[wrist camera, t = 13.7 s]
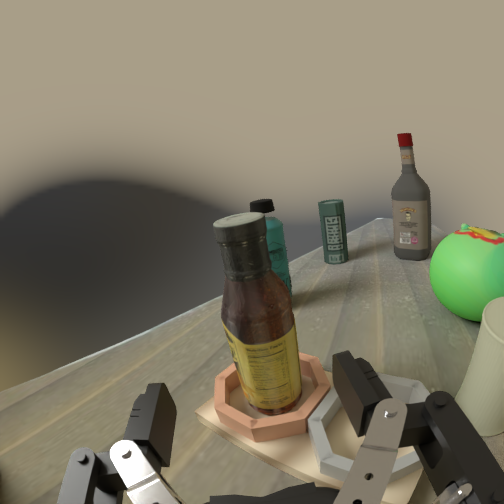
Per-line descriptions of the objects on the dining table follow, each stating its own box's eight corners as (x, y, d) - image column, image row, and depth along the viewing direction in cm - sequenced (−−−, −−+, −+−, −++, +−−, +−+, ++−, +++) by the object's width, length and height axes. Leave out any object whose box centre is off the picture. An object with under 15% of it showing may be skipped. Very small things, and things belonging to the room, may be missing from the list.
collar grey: (287, 458, 19) (285, 445, 19) (347, 381, 27) (347, 365, 27) (407, 499, 12) (416, 489, 11) (443, 401, 20) (450, 385, 19)
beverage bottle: (253, 306, 54) (233, 203, 48) (280, 294, 57) (264, 196, 51) (273, 317, 48) (254, 204, 42) (301, 303, 51) (287, 196, 46)
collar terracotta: (199, 408, 27) (192, 394, 26) (264, 355, 35) (261, 340, 35) (284, 457, 19) (282, 444, 19) (344, 380, 28) (345, 364, 27)
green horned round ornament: (408, 311, 40) (411, 225, 36) (456, 279, 45) (460, 208, 41) (494, 355, 24) (518, 251, 20) (526, 306, 28) (539, 224, 24)
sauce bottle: (256, 377, 31) (221, 212, 26) (308, 380, 29) (287, 204, 23) (237, 416, 25) (183, 231, 20) (296, 423, 23) (267, 221, 18)
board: (199, 421, 27) (194, 411, 27) (268, 363, 36) (266, 352, 36) (399, 512, 12) (406, 506, 11) (441, 409, 21) (446, 397, 20)
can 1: (346, 254, 71) (341, 198, 67) (348, 262, 66) (343, 202, 61) (324, 256, 73) (318, 201, 69) (324, 265, 67) (318, 204, 63)
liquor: (425, 262, 56) (418, 131, 48) (392, 258, 63) (381, 134, 54) (431, 250, 62) (424, 133, 53) (401, 247, 68) (392, 135, 60)
